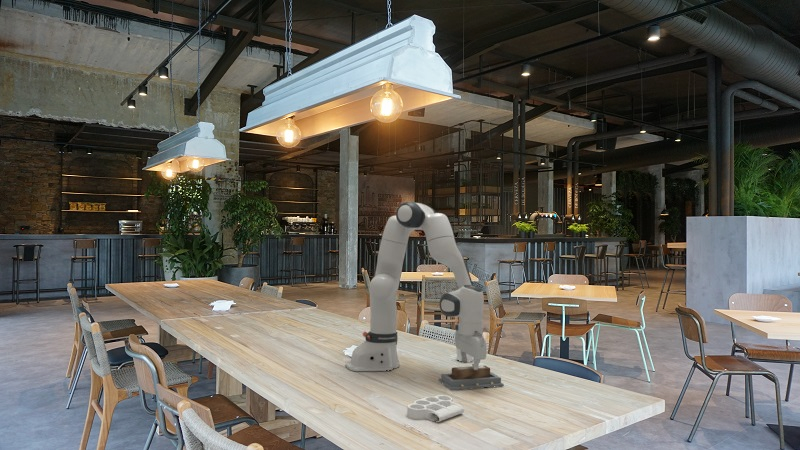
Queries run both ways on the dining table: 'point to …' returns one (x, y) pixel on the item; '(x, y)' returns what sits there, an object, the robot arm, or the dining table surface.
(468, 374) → the frame block
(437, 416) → the light grey compartment holder
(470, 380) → the dark grey rectangular tray
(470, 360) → the white cup
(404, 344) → the dining table surface
